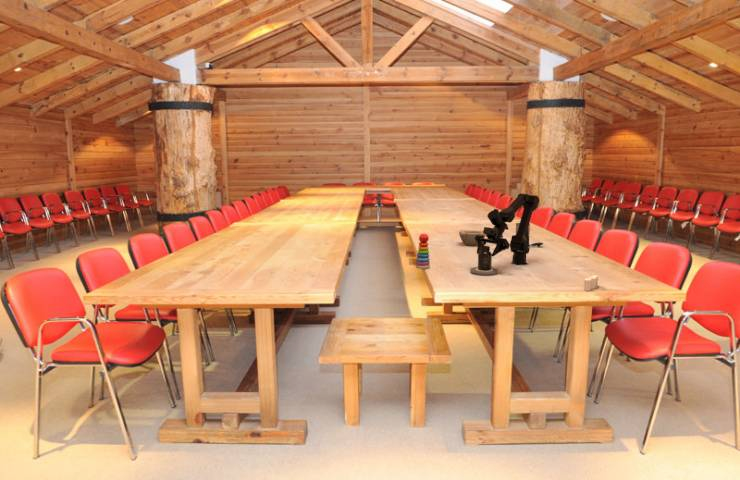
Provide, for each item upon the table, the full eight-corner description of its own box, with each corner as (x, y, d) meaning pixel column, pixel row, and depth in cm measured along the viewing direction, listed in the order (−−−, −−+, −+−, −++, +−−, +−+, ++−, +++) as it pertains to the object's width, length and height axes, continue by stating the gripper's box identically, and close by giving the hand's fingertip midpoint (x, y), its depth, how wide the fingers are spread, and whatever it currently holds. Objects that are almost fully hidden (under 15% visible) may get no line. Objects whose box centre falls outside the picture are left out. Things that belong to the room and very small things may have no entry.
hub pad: (490, 269, 289) (490, 265, 288) (503, 274, 275) (503, 271, 275) (465, 270, 285) (465, 267, 285) (477, 276, 272) (477, 273, 271)
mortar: (484, 243, 368) (484, 229, 367) (485, 247, 352) (485, 233, 350) (458, 242, 371) (458, 229, 369) (459, 247, 354) (459, 233, 353)
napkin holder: (594, 285, 255) (595, 273, 254) (611, 291, 245) (612, 278, 244) (567, 287, 251) (567, 275, 250) (583, 293, 240) (584, 281, 239)
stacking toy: (418, 270, 288) (418, 234, 285) (413, 266, 295) (413, 232, 292) (432, 269, 290) (432, 234, 287) (426, 266, 297) (427, 232, 294)
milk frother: (512, 245, 359) (512, 223, 356) (533, 244, 363) (533, 221, 361) (524, 249, 345) (524, 225, 343) (545, 247, 350) (546, 224, 347)
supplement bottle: (493, 268, 281) (493, 245, 279) (488, 271, 275) (489, 248, 273) (480, 267, 284) (481, 244, 282) (475, 270, 279) (476, 246, 277)
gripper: (476, 219, 286) (463, 242, 281) (507, 222, 273) (493, 247, 267) (485, 232, 293) (472, 255, 287) (515, 236, 279) (502, 260, 274)
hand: (484, 254), depth 279 cm, fingers open, 9 cm apart
